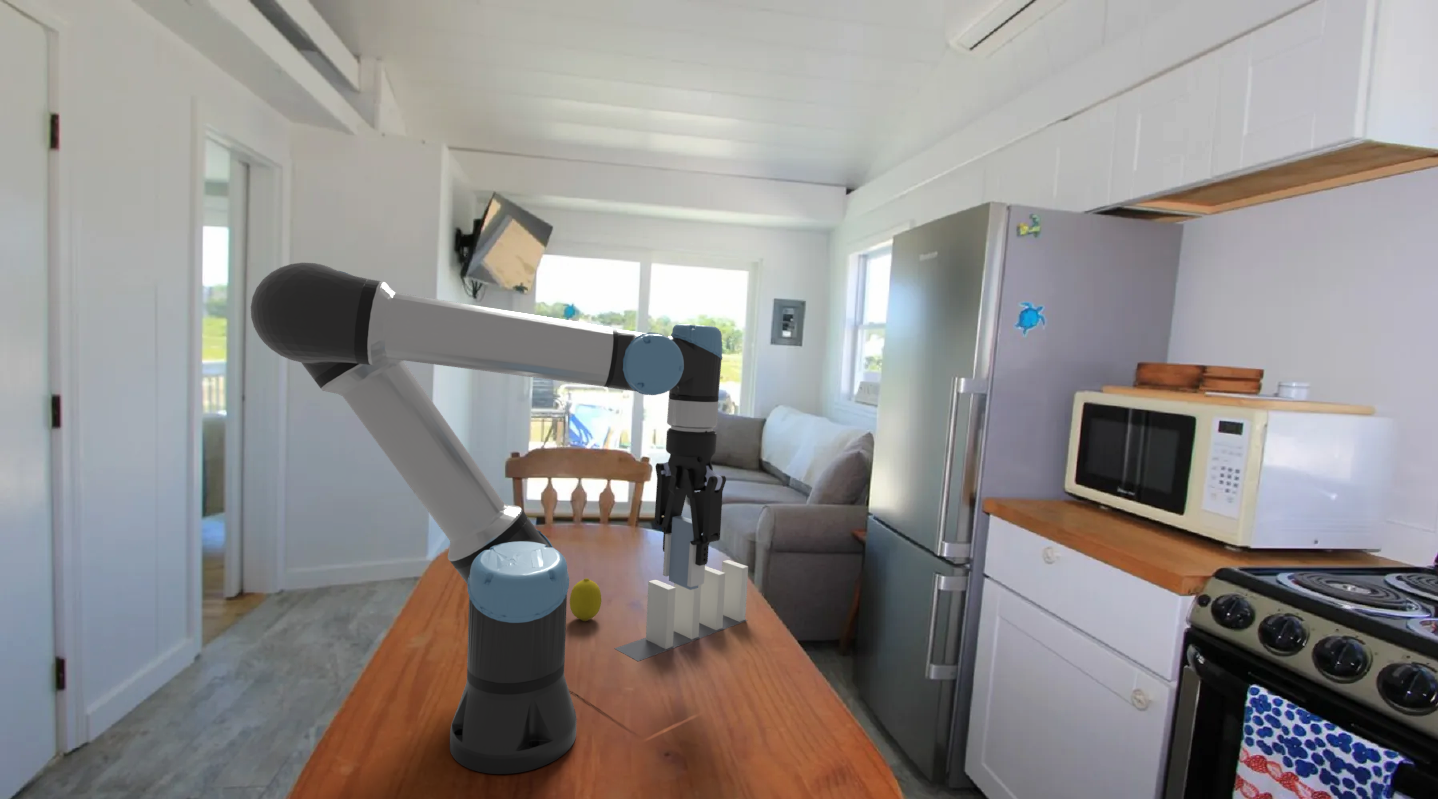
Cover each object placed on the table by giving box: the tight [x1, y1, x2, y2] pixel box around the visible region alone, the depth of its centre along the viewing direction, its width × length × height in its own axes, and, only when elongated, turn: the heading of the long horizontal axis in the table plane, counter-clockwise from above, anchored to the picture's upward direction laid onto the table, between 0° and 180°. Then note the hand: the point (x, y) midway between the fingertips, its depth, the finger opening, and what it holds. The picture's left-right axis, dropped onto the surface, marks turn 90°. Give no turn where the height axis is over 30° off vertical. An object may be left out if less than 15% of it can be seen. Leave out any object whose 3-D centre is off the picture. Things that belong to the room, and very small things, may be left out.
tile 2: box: [645, 579, 676, 649], centre depth 116 cm, size 2×5×10 cm, turn 46°
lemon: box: [569, 577, 602, 622], centre depth 124 cm, size 6×6×8 cm
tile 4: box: [699, 565, 725, 630], centre depth 124 cm, size 2×5×10 cm, turn 46°
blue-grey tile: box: [668, 515, 698, 590], centre depth 106 cm, size 2×5×10 cm, turn 44°
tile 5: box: [721, 559, 749, 622], centre depth 129 cm, size 2×5×10 cm, turn 46°
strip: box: [614, 615, 748, 662], centre depth 120 cm, size 26×6×1 cm, turn 136°
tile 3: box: [673, 583, 701, 639], centre depth 120 cm, size 2×5×10 cm, turn 46°
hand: (683, 579), depth 106 cm, fingers closed on blue-grey tile, 5 cm apart
